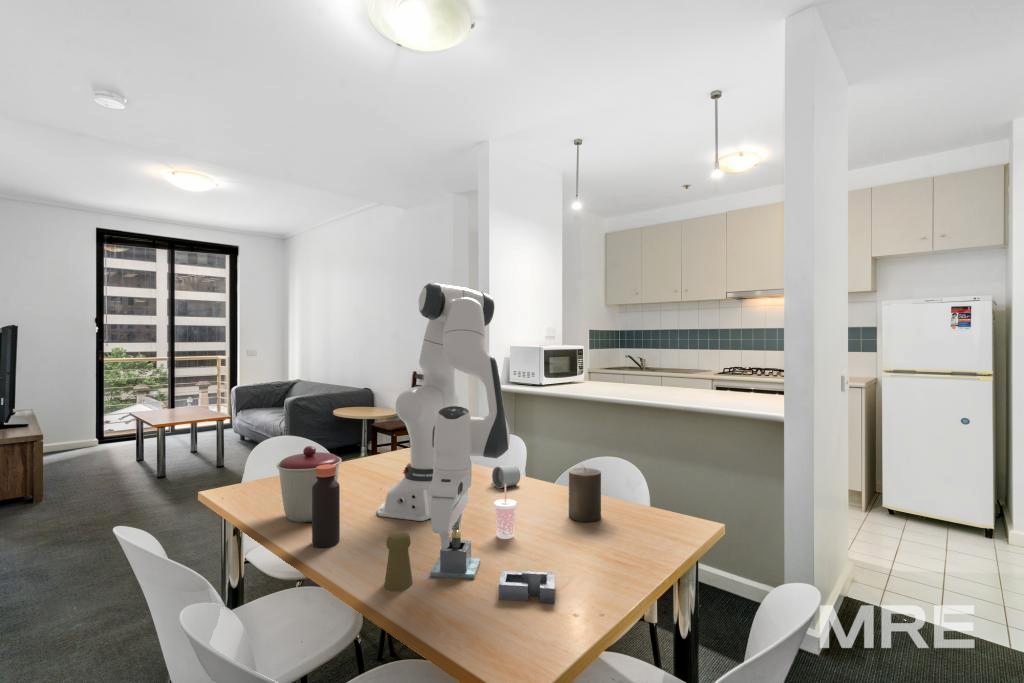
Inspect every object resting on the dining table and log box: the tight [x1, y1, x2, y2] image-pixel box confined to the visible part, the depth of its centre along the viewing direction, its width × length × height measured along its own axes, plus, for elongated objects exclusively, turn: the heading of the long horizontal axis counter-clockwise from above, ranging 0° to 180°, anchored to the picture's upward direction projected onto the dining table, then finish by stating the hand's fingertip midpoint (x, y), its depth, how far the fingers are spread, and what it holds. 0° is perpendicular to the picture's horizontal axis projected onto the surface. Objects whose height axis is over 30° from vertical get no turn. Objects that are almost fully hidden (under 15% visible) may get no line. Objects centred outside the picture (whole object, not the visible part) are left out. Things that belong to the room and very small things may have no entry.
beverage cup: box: [493, 484, 517, 540], centre depth 136 cm, size 6×6×14 cm
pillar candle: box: [568, 467, 602, 523], centre depth 150 cm, size 10×10×15 cm
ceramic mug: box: [491, 464, 521, 489], centre depth 183 cm, size 11×8×8 cm
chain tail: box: [498, 570, 556, 605], centre depth 105 cm, size 12×7×4 cm, turn 84°
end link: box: [439, 539, 472, 572], centre depth 116 cm, size 6×6×4 cm
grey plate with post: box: [429, 529, 481, 580], centre depth 116 cm, size 10×8×9 cm
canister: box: [276, 445, 342, 523], centre depth 150 cm, size 18×18×21 cm
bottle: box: [311, 464, 341, 549], centre depth 131 cm, size 7×7×20 cm
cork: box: [384, 531, 413, 592], centre depth 109 cm, size 6×6×11 cm
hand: (451, 537), depth 116 cm, fingers open, 8 cm apart
